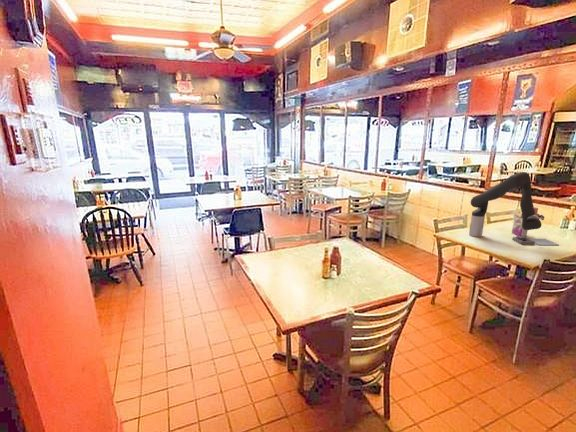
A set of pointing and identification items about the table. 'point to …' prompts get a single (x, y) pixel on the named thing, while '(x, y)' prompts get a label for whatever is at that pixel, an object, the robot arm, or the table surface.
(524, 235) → the candy bar box
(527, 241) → the tie collar
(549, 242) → the slate mat
